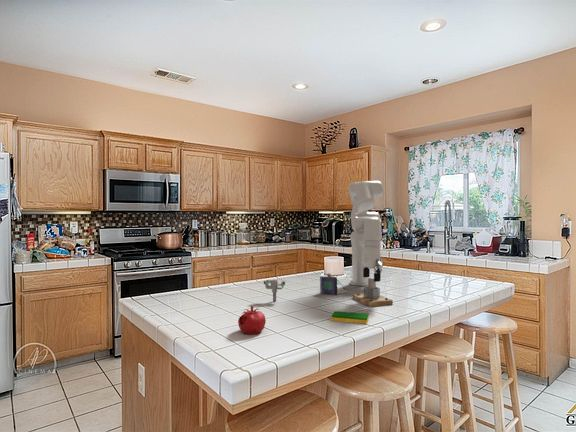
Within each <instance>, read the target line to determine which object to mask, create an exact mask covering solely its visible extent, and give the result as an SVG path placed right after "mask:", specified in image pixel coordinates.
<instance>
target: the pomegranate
mask: <svg viewBox="0 0 576 432" xmlns="http://www.w3.org/2000/svg"><path fill="white" fill-rule="evenodd" d="M257 310H258V311H257ZM237 323H238V324H237V325H238V327H239V330H240V331H241V332H242V333H244V334H248V335H256V334H260V333H261V332H262V331H263V330H264V329H265V326H266V323H267V321H266V316H265V314H264V313H263V312H262V311H261V309H259V308H255V309H254V306H253V305H250V310H249V309H247V308H246V309H244V308H243V312H242V314H241V315H240V317H238V320H237Z"/></svg>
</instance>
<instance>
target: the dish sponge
mask: <svg viewBox="0 0 576 432" xmlns="http://www.w3.org/2000/svg"><path fill="white" fill-rule="evenodd" d="M369 315H370V314H369V313H366V312H365V313H363V312H352V311H338V310H337V311H336V310H334V311H333V312H332V314H331V317H330V319H331V321H332V322H343V323H344V322H345V323H352V324H353V323H355V324H365V325H366V324H368V322H369V319H370V316H369Z"/></svg>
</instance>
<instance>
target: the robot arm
mask: <svg viewBox="0 0 576 432" xmlns="http://www.w3.org/2000/svg"><path fill="white" fill-rule="evenodd" d="M383 194H384V185H383V183H382V182H381V180H380V181H379V180H363V181H354V182H351V183H349V185H348V195H349V198H350V201H351V204H352V210H351V212H350V222H351V228H352V230H353V231H352V232H351V233H350V243H351V261H352V262H351V270H352V271H351V273H352V274H351V276H350V278H351V280H350V281H349V285H352V286H358V287H362V286H363V287H368V278H371V276H370V275H371V274H370V269H371V270H373V272H374V273H373V278H374V282H376V283H378V282H381V278H382V277H381V274H382V271H383V266H384V265H383V264H382V262H381V261H382V260H381V249H380V247H381V242H382V221H381V219H382V218H381V215H380V213H379V212H376V211H369V210H371V209H372V208H373V207H374V206H375V199H374V198H375V197H379V198H380V197H381V196H382V195H383Z"/></svg>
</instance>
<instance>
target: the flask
mask: <svg viewBox="0 0 576 432" xmlns="http://www.w3.org/2000/svg"><path fill="white" fill-rule="evenodd" d="M319 292H320V293H319V294H320V295H332V296H337V295H338V278H337V276H332V275H331V273H327V274H326V276H325V275H322V276H320V277H319Z"/></svg>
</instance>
